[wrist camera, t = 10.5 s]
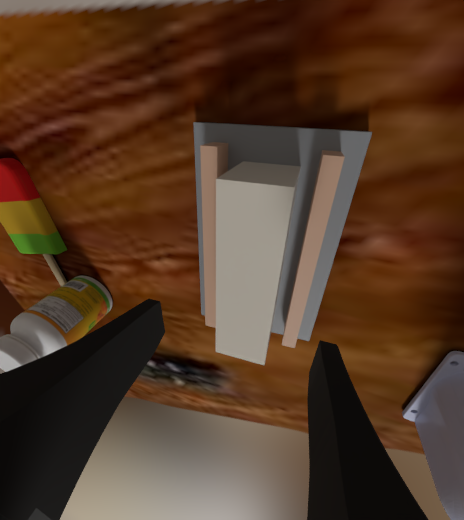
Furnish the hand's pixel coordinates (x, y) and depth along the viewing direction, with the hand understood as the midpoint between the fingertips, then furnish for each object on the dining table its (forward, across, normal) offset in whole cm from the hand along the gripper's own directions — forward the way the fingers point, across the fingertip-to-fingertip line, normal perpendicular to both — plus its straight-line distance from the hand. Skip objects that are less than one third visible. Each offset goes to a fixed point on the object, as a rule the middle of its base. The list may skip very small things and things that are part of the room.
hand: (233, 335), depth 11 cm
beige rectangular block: (+8, 0, 0) cm, 8 cm away
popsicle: (+10, +24, +3) cm, 26 cm away
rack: (+9, 0, 0) cm, 9 cm away
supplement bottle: (+10, +19, +10) cm, 24 cm away
